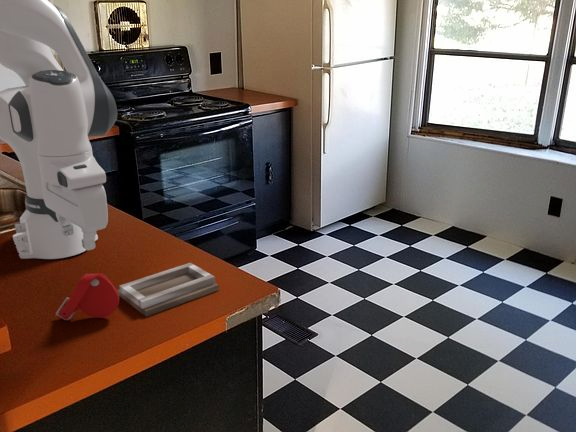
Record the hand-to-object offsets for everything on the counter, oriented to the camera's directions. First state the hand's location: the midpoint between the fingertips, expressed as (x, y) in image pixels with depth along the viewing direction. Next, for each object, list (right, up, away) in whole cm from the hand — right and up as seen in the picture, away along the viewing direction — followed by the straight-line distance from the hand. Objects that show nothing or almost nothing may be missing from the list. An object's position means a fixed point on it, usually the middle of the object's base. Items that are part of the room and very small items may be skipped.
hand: (78, 241), depth 109 cm
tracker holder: (0, -16, +6) cm, 17 cm away
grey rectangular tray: (+13, -11, +17) cm, 24 cm away
